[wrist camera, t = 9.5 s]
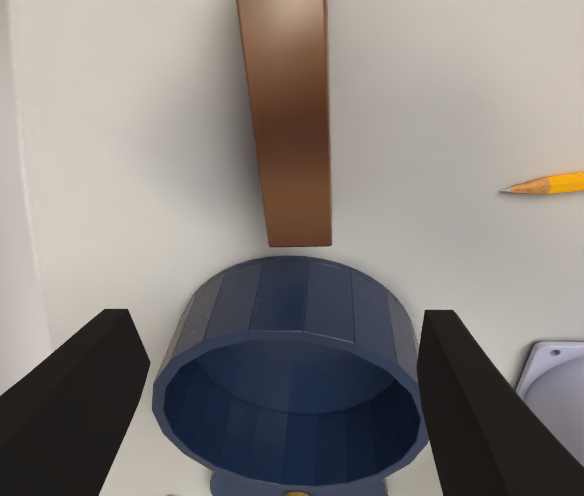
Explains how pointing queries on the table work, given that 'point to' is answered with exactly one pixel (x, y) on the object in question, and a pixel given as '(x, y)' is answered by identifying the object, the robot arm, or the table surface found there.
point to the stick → (290, 116)
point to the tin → (293, 377)
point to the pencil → (551, 185)
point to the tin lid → (233, 492)
